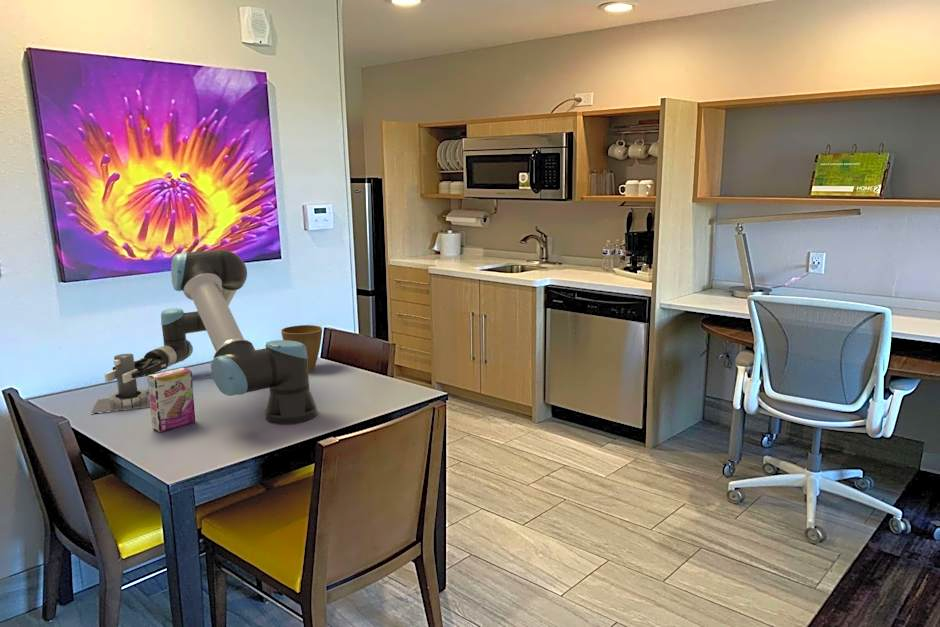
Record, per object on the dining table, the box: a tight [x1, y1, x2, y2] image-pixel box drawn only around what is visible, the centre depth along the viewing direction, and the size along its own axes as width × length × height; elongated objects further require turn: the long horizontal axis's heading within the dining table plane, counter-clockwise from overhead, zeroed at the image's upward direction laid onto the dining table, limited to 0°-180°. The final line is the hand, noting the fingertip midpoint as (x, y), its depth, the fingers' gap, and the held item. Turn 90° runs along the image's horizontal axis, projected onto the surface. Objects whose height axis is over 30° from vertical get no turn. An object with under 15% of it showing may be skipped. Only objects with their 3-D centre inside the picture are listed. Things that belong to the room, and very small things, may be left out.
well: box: [90, 389, 150, 414], centre depth 221 cm, size 14×20×3 cm
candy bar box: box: [147, 367, 196, 433], centre depth 199 cm, size 11×5×16 cm, turn 141°
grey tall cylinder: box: [113, 353, 138, 398], centre depth 219 cm, size 7×6×14 cm
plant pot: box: [280, 324, 323, 373], centre depth 255 cm, size 15×15×16 cm
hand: (115, 378), depth 214 cm, fingers closed on grey tall cylinder, 5 cm apart
